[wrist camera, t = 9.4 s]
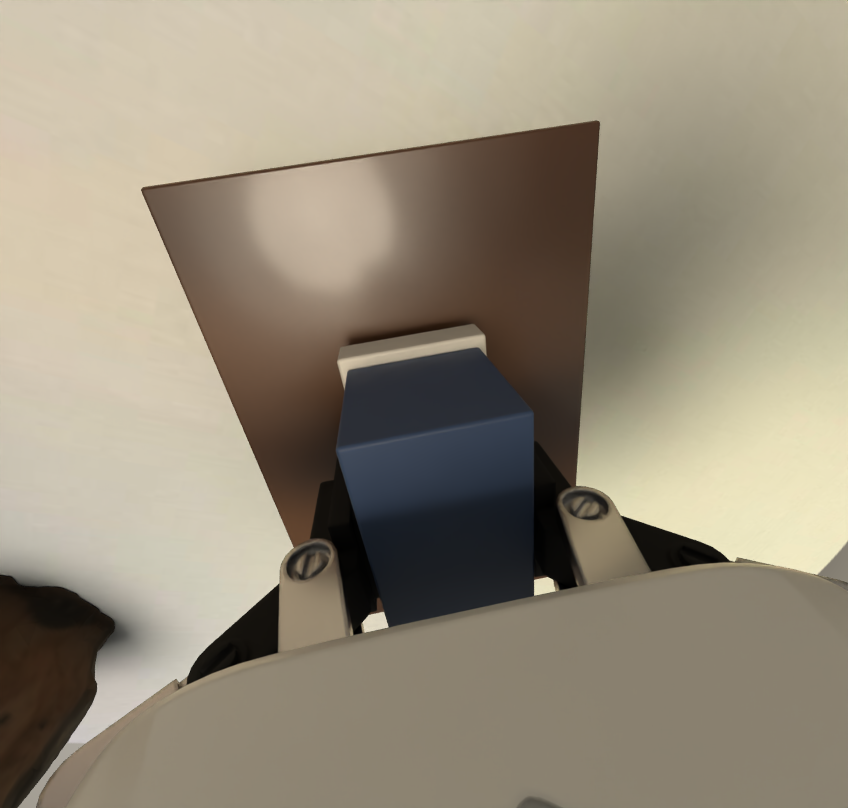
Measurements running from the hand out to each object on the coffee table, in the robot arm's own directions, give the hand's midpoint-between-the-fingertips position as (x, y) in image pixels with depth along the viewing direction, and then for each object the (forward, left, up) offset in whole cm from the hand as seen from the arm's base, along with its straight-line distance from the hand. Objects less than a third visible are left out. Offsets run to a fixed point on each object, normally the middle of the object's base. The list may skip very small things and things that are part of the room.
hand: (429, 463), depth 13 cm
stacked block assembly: (0, 0, 0) cm, 0 cm away
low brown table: (0, 0, -7) cm, 7 cm away
